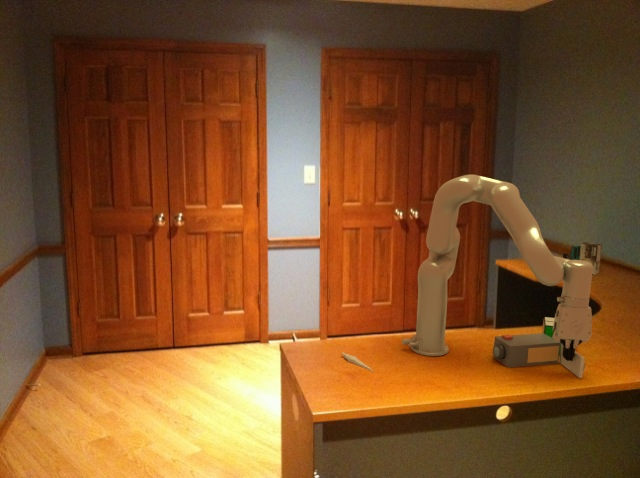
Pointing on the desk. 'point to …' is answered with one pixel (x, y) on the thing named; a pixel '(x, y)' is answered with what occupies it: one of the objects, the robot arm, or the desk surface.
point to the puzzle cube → (549, 327)
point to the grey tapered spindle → (355, 361)
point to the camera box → (526, 350)
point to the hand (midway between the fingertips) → (567, 359)
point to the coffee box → (591, 255)
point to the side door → (573, 363)
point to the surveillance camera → (573, 253)
